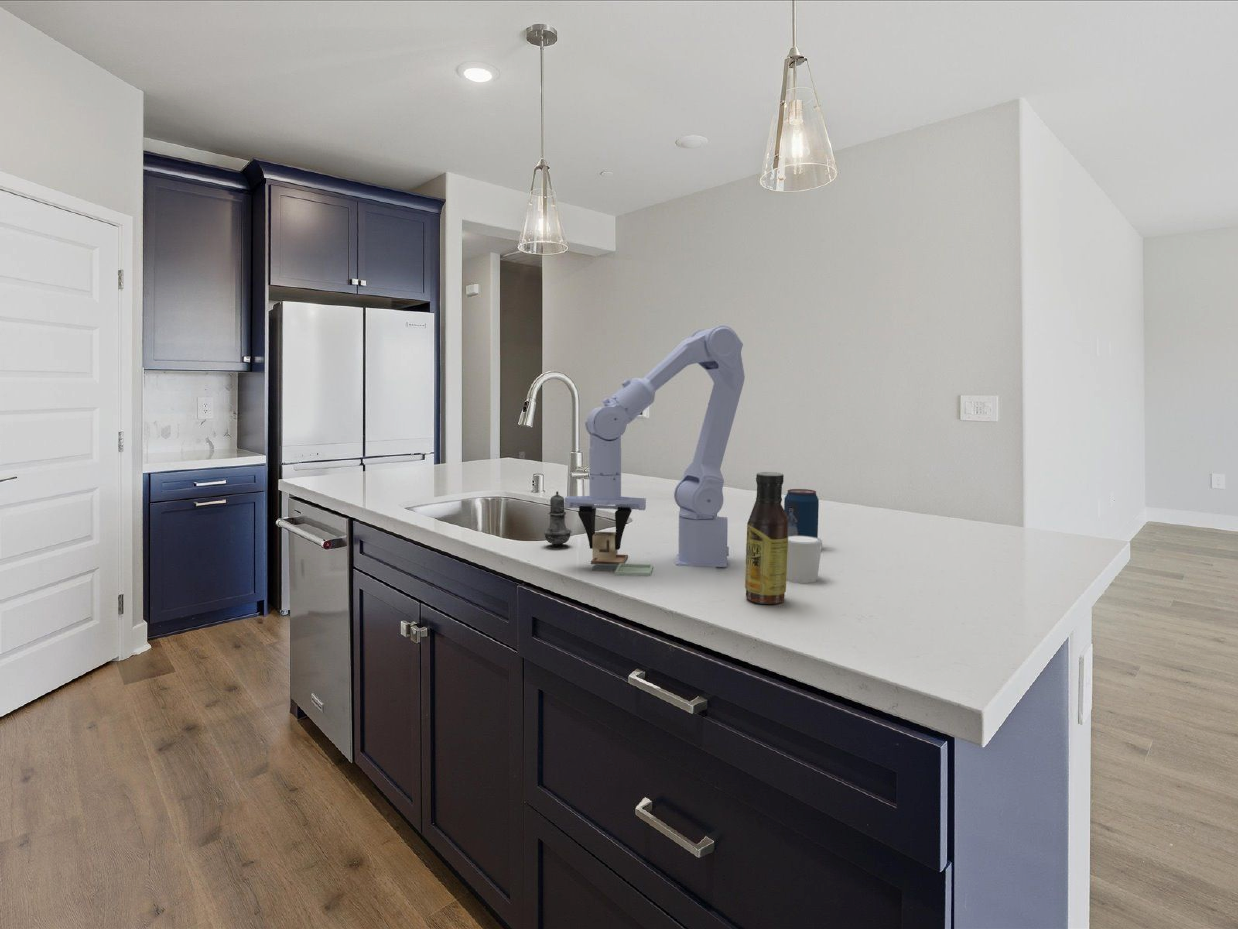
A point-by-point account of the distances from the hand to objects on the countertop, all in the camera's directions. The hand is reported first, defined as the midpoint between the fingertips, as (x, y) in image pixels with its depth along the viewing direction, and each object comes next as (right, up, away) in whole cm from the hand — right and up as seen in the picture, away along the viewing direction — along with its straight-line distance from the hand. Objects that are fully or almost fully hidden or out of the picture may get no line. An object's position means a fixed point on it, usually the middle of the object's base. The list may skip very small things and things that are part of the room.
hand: (605, 548), depth 124 cm
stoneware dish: (+5, -4, -2) cm, 7 cm away
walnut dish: (+1, -3, +6) cm, 7 cm away
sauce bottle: (+25, -6, -18) cm, 32 cm away
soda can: (+40, -2, +19) cm, 45 cm away
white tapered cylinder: (+34, -5, -5) cm, 35 cm away
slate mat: (0, -4, 0) cm, 4 cm away
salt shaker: (-10, -2, +18) cm, 21 cm away
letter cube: (0, -1, 0) cm, 1 cm away
